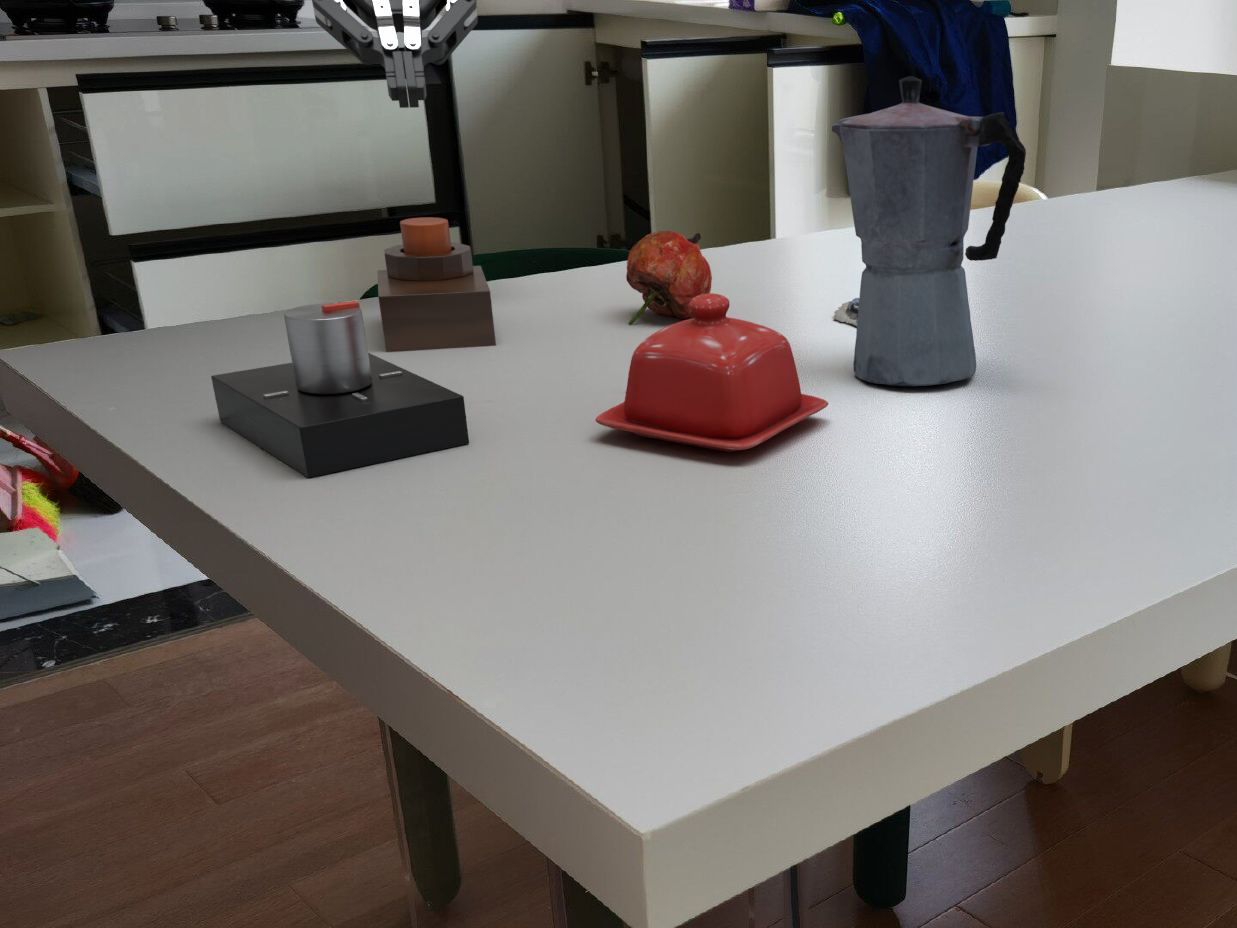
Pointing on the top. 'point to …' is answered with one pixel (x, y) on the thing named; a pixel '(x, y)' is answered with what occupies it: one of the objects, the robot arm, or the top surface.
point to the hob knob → (328, 348)
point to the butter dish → (712, 383)
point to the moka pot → (919, 234)
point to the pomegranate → (668, 273)
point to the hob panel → (341, 417)
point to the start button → (425, 236)
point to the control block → (434, 301)
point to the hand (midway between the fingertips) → (408, 100)
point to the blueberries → (848, 312)
